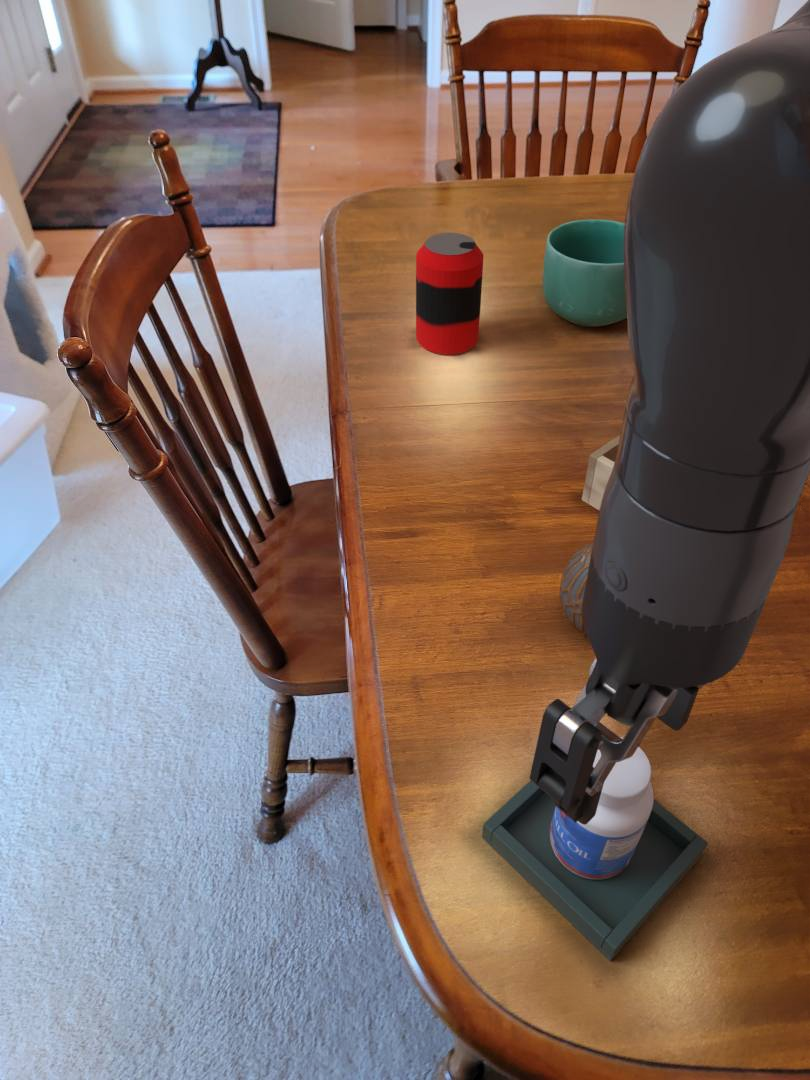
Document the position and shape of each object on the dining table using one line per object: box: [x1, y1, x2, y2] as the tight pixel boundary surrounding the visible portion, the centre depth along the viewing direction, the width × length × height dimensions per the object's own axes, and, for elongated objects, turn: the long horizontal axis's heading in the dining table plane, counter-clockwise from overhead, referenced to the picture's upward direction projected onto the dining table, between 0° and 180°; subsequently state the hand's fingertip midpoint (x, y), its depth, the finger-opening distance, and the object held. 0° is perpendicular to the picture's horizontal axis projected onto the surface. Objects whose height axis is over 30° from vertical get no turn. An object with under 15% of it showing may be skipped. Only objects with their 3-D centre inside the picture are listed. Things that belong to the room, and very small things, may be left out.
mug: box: [542, 218, 627, 328], centre depth 102 cm, size 17×13×10 cm
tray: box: [481, 779, 709, 962], centre depth 54 cm, size 11×10×2 cm
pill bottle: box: [550, 736, 654, 880], centre depth 51 cm, size 6×5×10 cm
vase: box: [559, 541, 594, 635], centre depth 66 cm, size 7×7×9 cm
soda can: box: [415, 232, 484, 356], centre depth 97 cm, size 8×8×12 cm
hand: (622, 761), depth 47 cm, fingers open, 8 cm apart
